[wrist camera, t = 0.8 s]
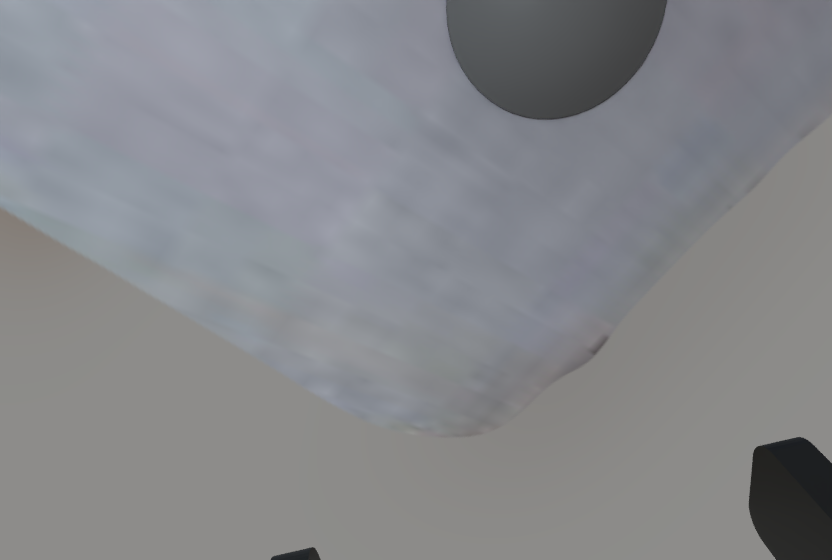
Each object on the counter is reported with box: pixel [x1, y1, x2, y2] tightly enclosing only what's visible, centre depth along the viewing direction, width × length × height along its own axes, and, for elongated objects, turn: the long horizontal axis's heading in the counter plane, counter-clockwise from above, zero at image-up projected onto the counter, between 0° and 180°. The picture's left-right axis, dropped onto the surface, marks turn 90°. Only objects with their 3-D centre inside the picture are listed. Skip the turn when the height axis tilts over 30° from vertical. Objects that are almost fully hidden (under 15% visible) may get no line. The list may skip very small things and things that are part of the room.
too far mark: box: [446, 0, 667, 119], centre depth 32 cm, size 12×12×1 cm
